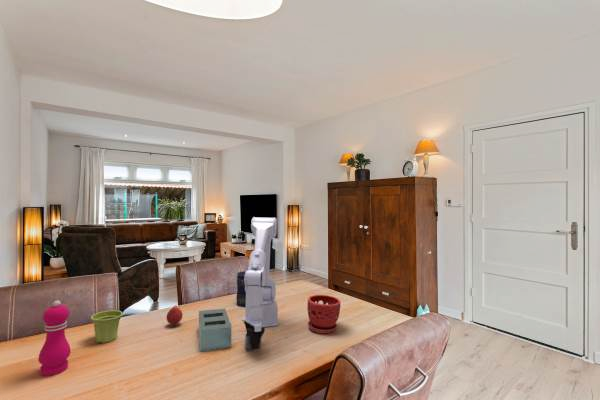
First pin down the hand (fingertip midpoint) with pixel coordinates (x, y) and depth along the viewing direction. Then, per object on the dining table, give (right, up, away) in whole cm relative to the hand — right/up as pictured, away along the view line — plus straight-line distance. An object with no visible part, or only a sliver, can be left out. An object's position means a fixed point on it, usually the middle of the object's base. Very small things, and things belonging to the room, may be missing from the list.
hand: (253, 344), depth 103 cm
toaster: (-16, -1, +8) cm, 17 cm away
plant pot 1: (-53, 0, +4) cm, 53 cm away
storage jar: (-10, -2, +45) cm, 46 cm away
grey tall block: (0, -2, 0) cm, 2 cm away
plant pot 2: (+25, -3, +18) cm, 31 cm away
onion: (-34, -1, +17) cm, 38 cm away
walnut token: (-17, 0, +11) cm, 20 cm away
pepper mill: (-55, 0, -16) cm, 57 cm away
